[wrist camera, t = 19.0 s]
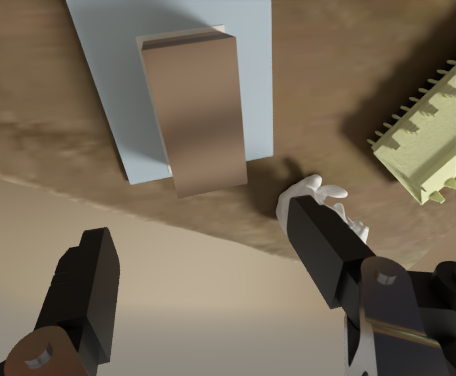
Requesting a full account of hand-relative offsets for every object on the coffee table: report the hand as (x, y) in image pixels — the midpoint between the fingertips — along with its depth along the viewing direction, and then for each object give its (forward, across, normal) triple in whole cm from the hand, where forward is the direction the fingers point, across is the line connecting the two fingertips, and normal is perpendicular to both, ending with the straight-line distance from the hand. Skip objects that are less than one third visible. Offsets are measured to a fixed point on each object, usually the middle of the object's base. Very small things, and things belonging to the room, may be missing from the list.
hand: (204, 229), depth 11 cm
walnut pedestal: (+19, -2, +1) cm, 19 cm away
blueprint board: (+20, -2, -2) cm, 20 cm away
